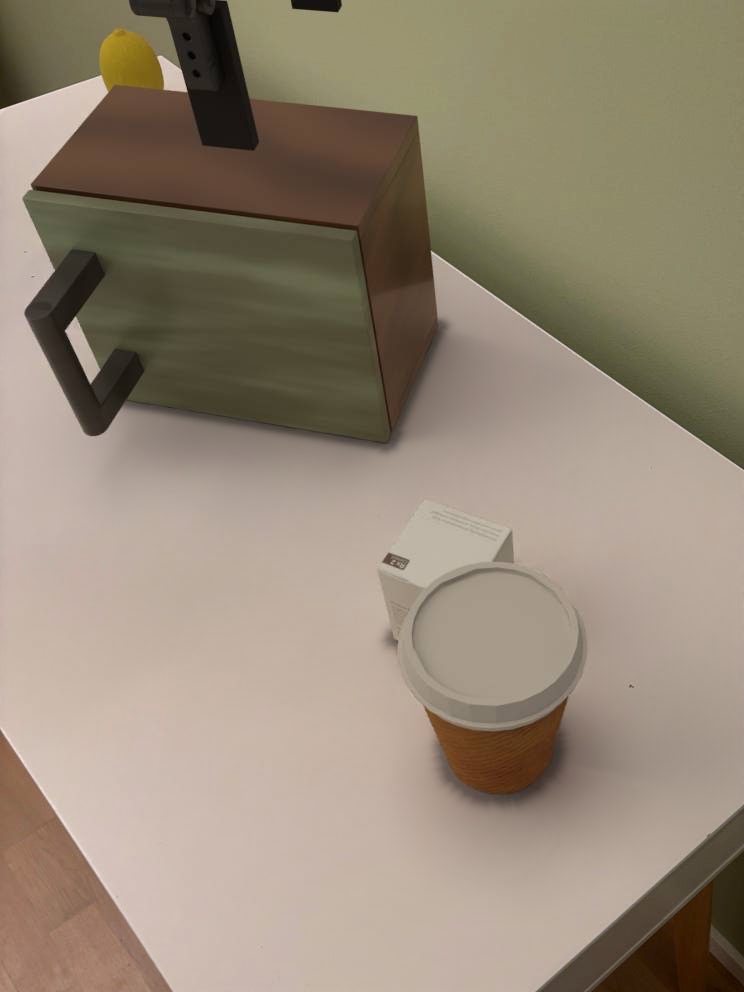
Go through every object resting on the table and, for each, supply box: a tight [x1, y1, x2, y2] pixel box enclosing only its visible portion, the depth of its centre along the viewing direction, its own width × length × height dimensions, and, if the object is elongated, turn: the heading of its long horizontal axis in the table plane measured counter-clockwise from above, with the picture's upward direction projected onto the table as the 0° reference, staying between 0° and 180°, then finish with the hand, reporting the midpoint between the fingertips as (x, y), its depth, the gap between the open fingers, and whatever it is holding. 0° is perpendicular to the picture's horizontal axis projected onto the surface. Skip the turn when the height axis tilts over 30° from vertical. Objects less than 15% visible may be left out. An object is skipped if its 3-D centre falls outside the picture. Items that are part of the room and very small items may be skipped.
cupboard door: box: [21, 189, 392, 444], centre depth 68 cm, size 8×22×17 cm, turn 75°
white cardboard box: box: [376, 498, 515, 642], centre depth 63 cm, size 6×6×7 cm
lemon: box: [99, 27, 165, 93], centre depth 98 cm, size 6×6×8 cm
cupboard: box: [30, 85, 439, 433], centre depth 73 cm, size 12×22×17 cm, turn 75°
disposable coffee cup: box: [396, 562, 589, 795], centre depth 56 cm, size 10×10×12 cm
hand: (277, 72), depth 54 cm, fingers open, 13 cm apart
